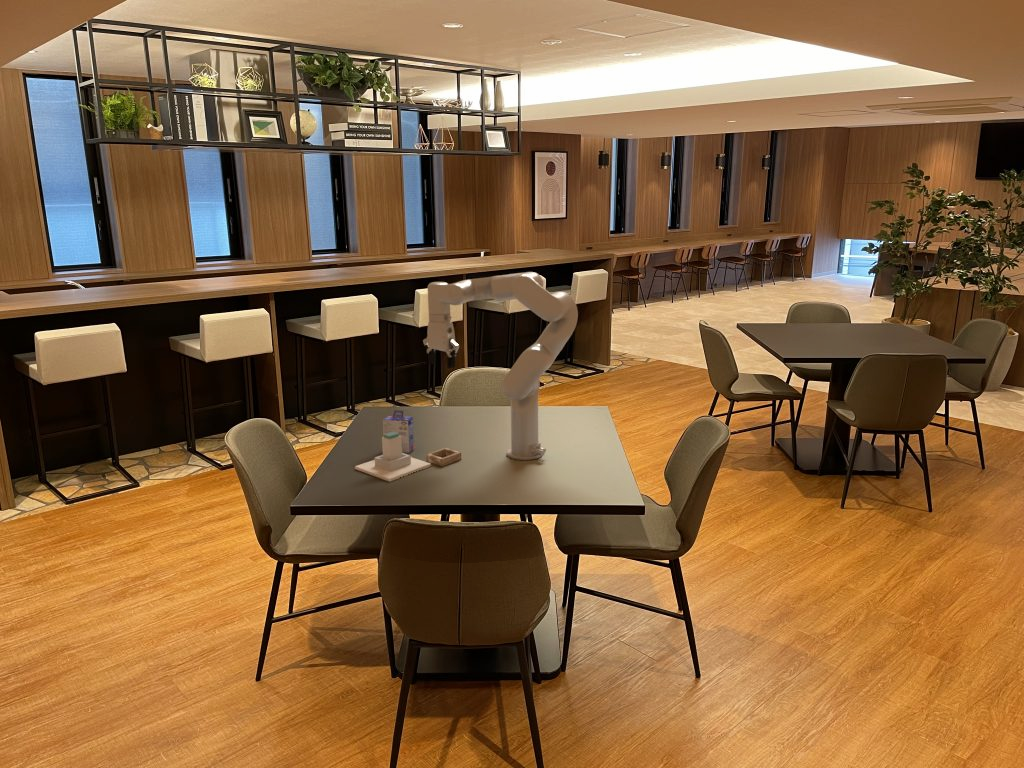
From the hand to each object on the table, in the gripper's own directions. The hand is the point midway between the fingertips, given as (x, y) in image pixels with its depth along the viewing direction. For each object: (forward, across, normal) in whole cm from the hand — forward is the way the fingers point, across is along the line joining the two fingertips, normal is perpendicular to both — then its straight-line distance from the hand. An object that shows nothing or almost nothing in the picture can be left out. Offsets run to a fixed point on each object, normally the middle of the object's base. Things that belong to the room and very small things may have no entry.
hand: (441, 365), depth 274 cm
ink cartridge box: (+31, +10, +13) cm, 35 cm away
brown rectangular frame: (+30, -10, +10) cm, 33 cm away
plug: (+29, -2, +26) cm, 39 cm away
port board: (+30, -2, +26) cm, 40 cm away
